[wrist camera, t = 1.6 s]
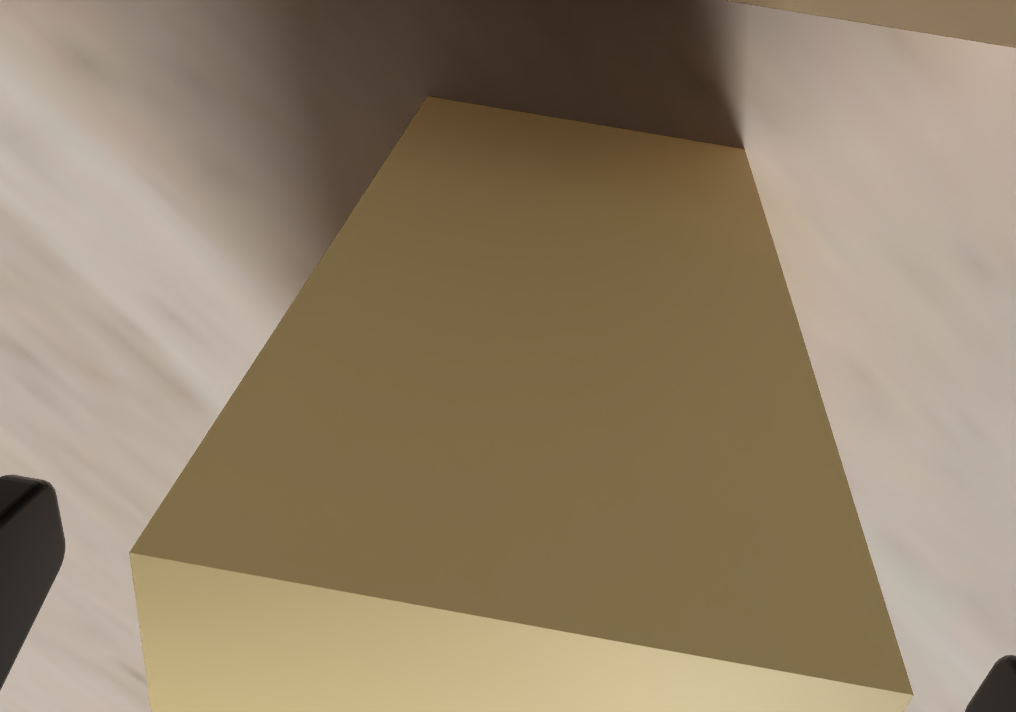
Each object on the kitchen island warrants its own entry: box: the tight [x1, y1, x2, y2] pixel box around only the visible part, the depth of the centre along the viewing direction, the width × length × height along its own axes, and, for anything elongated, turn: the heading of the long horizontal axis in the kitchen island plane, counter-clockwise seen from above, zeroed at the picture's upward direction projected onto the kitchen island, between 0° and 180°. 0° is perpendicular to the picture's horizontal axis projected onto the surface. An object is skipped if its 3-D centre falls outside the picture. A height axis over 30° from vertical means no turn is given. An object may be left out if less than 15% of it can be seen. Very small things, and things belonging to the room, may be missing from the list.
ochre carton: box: [129, 96, 913, 712], centre depth 10 cm, size 4×6×8 cm
